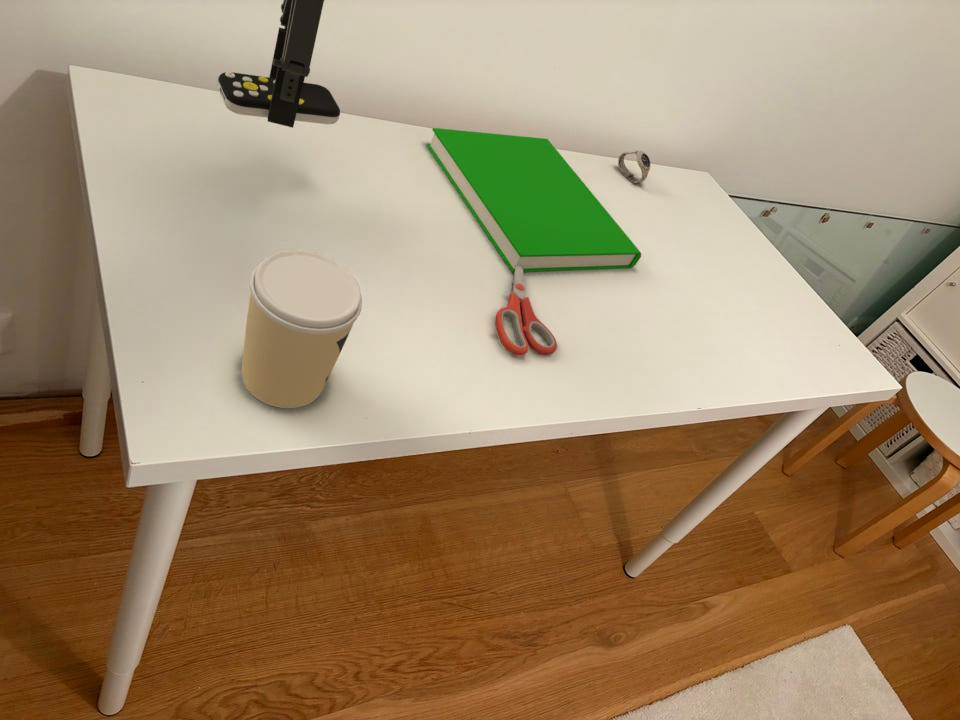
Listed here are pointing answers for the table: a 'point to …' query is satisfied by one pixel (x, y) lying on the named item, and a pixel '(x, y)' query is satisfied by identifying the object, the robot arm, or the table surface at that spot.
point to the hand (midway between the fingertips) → (280, 103)
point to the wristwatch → (642, 162)
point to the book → (531, 203)
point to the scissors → (528, 319)
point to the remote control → (256, 96)
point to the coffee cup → (296, 326)
